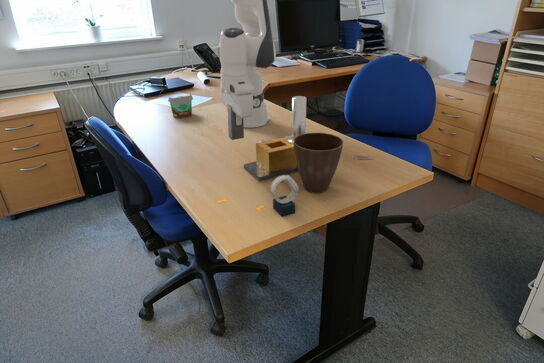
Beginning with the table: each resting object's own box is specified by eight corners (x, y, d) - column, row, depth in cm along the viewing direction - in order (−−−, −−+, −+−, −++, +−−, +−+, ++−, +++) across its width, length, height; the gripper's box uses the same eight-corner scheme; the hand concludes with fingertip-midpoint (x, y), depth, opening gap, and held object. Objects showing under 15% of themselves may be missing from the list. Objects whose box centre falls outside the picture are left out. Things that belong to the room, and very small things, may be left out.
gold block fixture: (238, 163, 143) (234, 98, 132) (295, 150, 153) (296, 89, 142) (259, 181, 130) (256, 111, 119) (320, 165, 140) (323, 99, 129)
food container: (175, 120, 188) (172, 100, 183) (170, 117, 192) (167, 97, 188) (198, 115, 194) (196, 95, 190) (193, 112, 199) (191, 93, 194)
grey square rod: (228, 137, 137) (227, 103, 132) (240, 134, 139) (239, 102, 134) (232, 140, 135) (230, 106, 129) (243, 137, 137) (243, 104, 131)
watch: (301, 211, 113) (301, 177, 108) (276, 218, 109) (275, 183, 104) (291, 202, 117) (292, 169, 112) (267, 209, 114) (266, 175, 109)
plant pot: (317, 173, 135) (319, 129, 127) (349, 189, 124) (353, 142, 117) (283, 185, 127) (283, 139, 120) (314, 204, 116) (316, 154, 109)
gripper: (214, 75, 135) (216, 114, 141) (237, 91, 119) (239, 133, 125) (231, 74, 137) (232, 112, 144) (256, 88, 121) (256, 130, 128)
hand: (235, 122), depth 135 cm, fingers closed on grey square rod, 3 cm apart
